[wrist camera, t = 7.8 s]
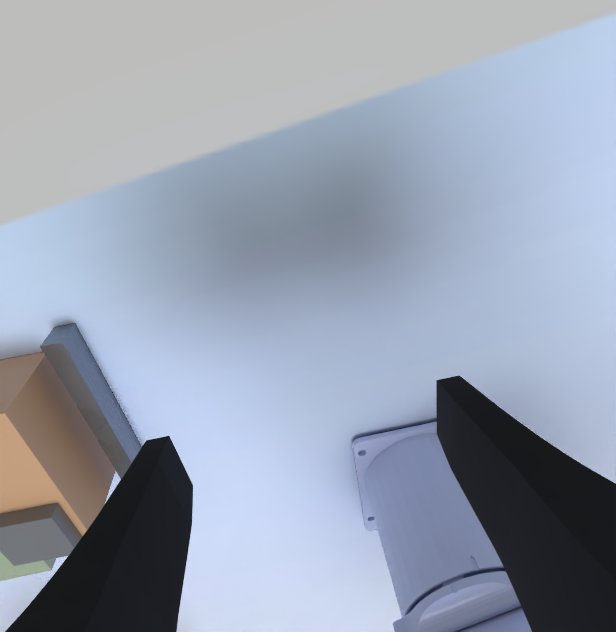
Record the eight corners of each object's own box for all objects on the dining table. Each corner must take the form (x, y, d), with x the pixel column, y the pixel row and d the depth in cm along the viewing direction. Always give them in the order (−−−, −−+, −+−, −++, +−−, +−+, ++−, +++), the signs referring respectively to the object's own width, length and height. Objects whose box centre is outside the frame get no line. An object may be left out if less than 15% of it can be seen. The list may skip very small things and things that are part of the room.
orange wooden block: (116, 468, 26) (88, 554, 21) (50, 480, 26) (7, 569, 21) (48, 349, 21) (-6, 427, 17) (-33, 364, 21) (-110, 446, 16)
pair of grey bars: (165, 492, 27) (161, 514, 26) (49, 516, 27) (38, 540, 26) (74, 323, 20) (62, 341, 19) (-82, 354, 20) (-106, 376, 19)
